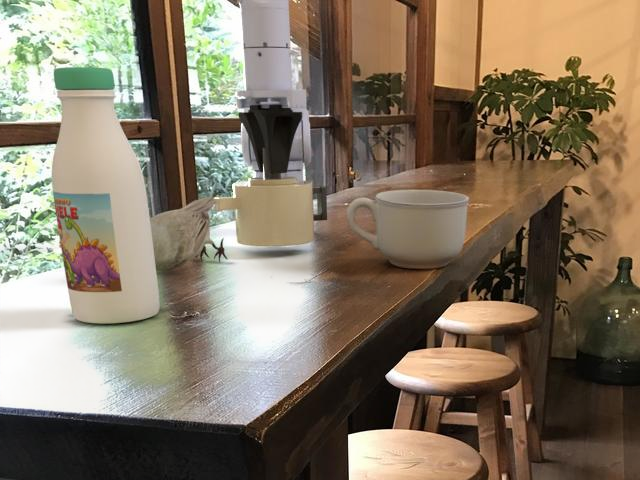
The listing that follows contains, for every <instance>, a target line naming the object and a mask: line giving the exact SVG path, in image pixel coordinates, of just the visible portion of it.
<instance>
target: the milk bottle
mask: <svg viewBox="0 0 640 480" xmlns="http://www.w3.org/2000/svg"><path fill="white" fill-rule="evenodd" d="M53 80H54V81H53V82H54V86H55V89H56V98H58V99H59V101H60V105H61V119H60V120H61V121H60V126H59V127H60V128H59V133H58V137H57V140H56V146H55V149H54V153H53V157H52V162H51V164H52V165H51V186H52V196H53V203H54V204H53V205H54V210H55V211H54V212H55V217H56V224H57V230H58V236H59V243H60V249H61V250H60V251H61V254H62V261H63V268H64V273H65V280H66V286H67V291H68V298H69V303H70V309H71V313H72V315H73V317H74V318H75V319H76V320H78V321H79V322H83V323H87V324H120V323H121V324H122V323H130V322H137V321H141V320H145V319H148V318H151V317H154V316H155V315H157V314H158V313H159V312H160V308H161V304H160V292H159V285H158V276H157V275H158V274H157V271H156V266H155V258H154V249H153V241H152V233H151V225H150V218H151V217H150V210H149V201H148V195H147V189H146V184H145V179H144V174H143V170H142V167H141V163H140V161H139V159H138V156H137V154H136V152H135V151H134V149H133V147H132V145H131V143H130V141H129V140H128V138H127V135H126V134H125V132H124V130H123V127H122V125H121V123H120V120H119V118H118V115H117V112H116V108H115V98H117V96H116V93H115V88H116V87H115V86H116V85H115V78H114V73H113V70H112V69H111V68H106V67H97V66H96V67H95V66H93V67H91V66H84V67H83V66H71V67H70V66H69V67H67V66H66V67H57V68H55V69H54V70H53Z"/></svg>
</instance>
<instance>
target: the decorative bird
mask: <svg viewBox="0 0 640 480" xmlns="http://www.w3.org/2000/svg"><path fill="white" fill-rule="evenodd" d="M215 203H216V201H215V200H214V198H213V197H212V196H206V197H202V198H199V199H195V200H193V201H191V202H190V203H188V204H186V205H185V206H183V207H181V208H179V209H178V208H177V209H173V210H167V211H163V212H160V213H158V214H156V215H153V216H152V217H150V225H151V233H152V241H153V249H154V258H155V266H156V272H165V271H171V270H174V269H177V268H179V267H181V266H183V265H185V264H187V263H189V262H190V261H191V260H193V259H194V258H197V257H198V256H199V257H200V258H199V259H200V261H201V262H202V261H203V255H205V257H207V258H208V259H210V256H209V254H208V253H207V246H206V245H211V246H212V248H214V249H215V250H217V251H216V253H215V254H214V256H213V260H215V259H216V257H217V256H218V262H219V263H221V257H224V259H226V260H227V261H228V257H227V256H226V254H225V247H224V239H225V238H224V237H222V239H221V241H220V244H219V247H218V246H216V244H215V243H214V241H213V239H211V238H210V234H211V228H210V215H209V213H208V212H210V210H212V209H213V208H214V207H215V206H214V204H215Z"/></svg>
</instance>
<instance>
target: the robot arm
mask: <svg viewBox="0 0 640 480" xmlns="http://www.w3.org/2000/svg"><path fill="white" fill-rule="evenodd" d="M237 3H238V5H239V19H240V21H239V23H240V36H241V38H240V39H241V50H242V51H241V54H242V68H243V83H244V90H235V92H234V94H235V95H234V96H235V108H236V109H239V110H240V109H243V110H242V111H241V112H240V111H239V112H238V120H240V122H241V125H240V138H241V139H240V140H241V152H242V153H241V154H242V160H243V163H244V164H245V165H246V167H249V168H250V167H251V171H253V177H263V176H264V173H263V156H262V148H265V150H266V157H267V164H268V168H269V171H270V173H271V174H276V173H281V176H290V177H296V178H297V180H302V181H304V166H305V167H309V165H310V163H311V162H312V142H311V141H312V140H311V122H310V113H309V112H310V111H309V110H308V109H307V108H308V107H307V89H305V88H304V89H303V88H301V89H299V88H297V89H296V88H295V89H293V71H292V50H291V26H290V25H291V23H290V22H291V21H290V0H237Z"/></svg>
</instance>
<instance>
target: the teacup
mask: <svg viewBox="0 0 640 480" xmlns="http://www.w3.org/2000/svg"><path fill="white" fill-rule="evenodd" d="M374 198H375V201H374V200H372V199H370V198H368V197H358V198H356V199H353V200H352V201H351V202H350V204H349V205H348V207H347V209H346V222H347V225H348V226H349V228H350V229H351V230H352V232H353V233H355V235H357V236H358V237H359V238H361V239H363V240H364V241H366V242H367V243H369V244H370V246H371V248H372V249H373V250H375V251H379V252H380V253H381V254H382V255H383V256H384V257H385V258H386V259H387V260H388V262H389V263H390V264H392V265H393V266H394V267H395V266H396V267H399V268H402V269H408V270H433V269H441V268H443V267H446V266H448V264H450V262H451V261H452V260H454V259H455V258H456V257H457V256H458V255H459V254H460V253H461V251H462V250H463V247H464V244H465V238H466V231H467V230H466V229H467V217H468V204H469V201H470V197H469V196H468V195H465V194H463V193H458V192H453V191H447V190H437V189H436V190H435V189H394V190H387V191H381V192H378V193H377V194H376V195H375V197H374ZM361 207H364V208H367V209H368V210H369V211H370V214H371V217H372V220H373V221H374V222H375V234H373V233H372V232H369V231H367V230H365V229H363V228H362V227H361V226H360V225H359V224H358V222H357V220H356V213H357V211H358V209H359V208H361Z"/></svg>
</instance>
